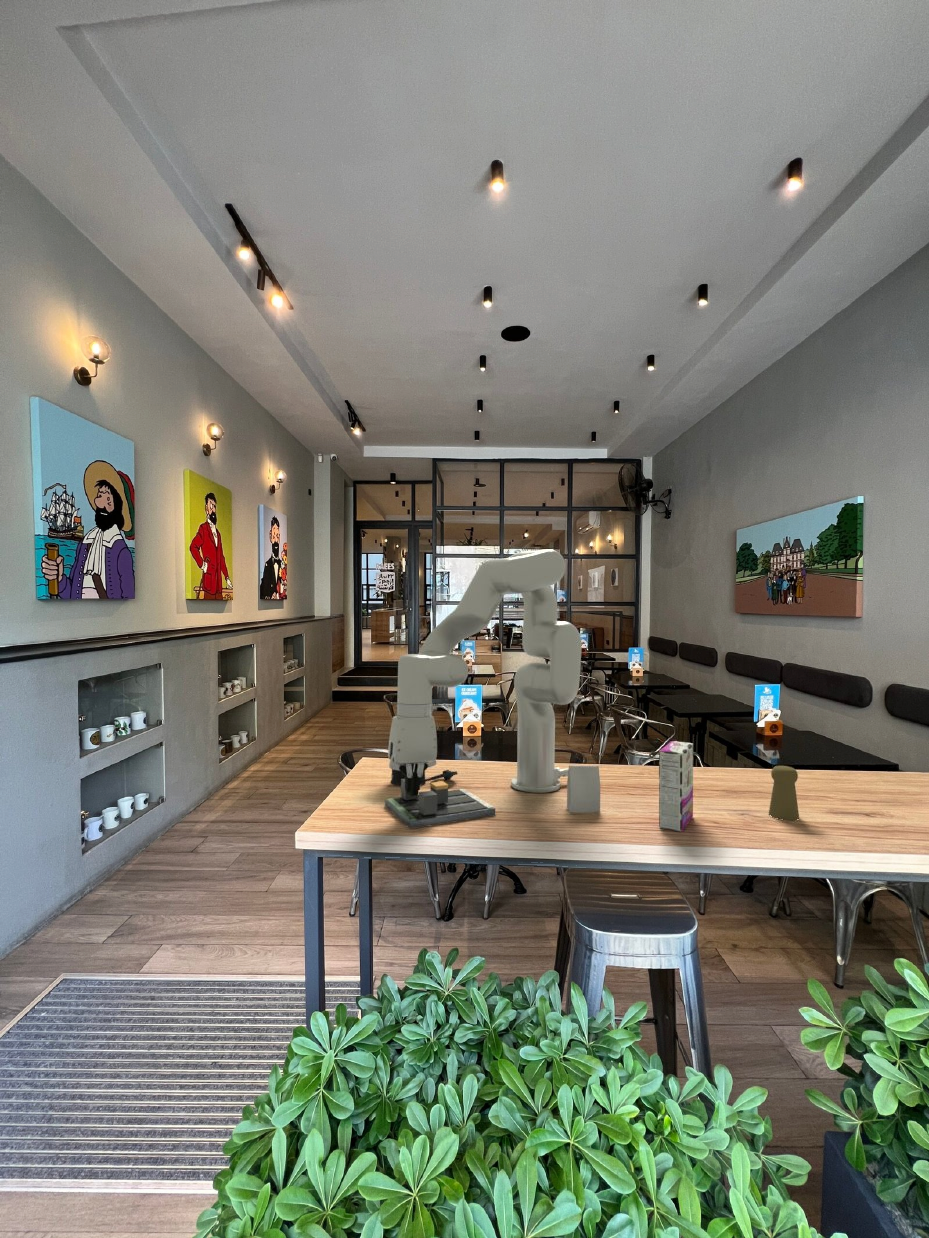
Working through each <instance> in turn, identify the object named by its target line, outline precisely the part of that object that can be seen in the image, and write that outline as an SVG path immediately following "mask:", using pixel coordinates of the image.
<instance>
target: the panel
mask: <svg viewBox="0 0 929 1238" xmlns="http://www.w3.org/2000/svg"><path fill="white" fill-rule="evenodd" d="M384 803H385V804H384V806H385V807H386V808H387V809H388V810H389V811H390V810H391V811H392V812H393V813H394V814H395V815H394V814H393V815H394V816H395V817H396V818H397V819H399V820H400V821H401V822H402V823H403V824H404V825H405V826H406V825H407V826H408V827H409V828H408V827H407V826H406V827H407V828H408V829H410V828H412V829H417V827H418V828H423V827H422V826H424V827H430V826H429V825H431V826H437V825H442V824H443V825H444V824H448V823H447V822H450V823H454V822H455V821H456V822H460V821H467V820H466V819H468V820H475V819H479V818H486V817H491V816H493V817H494V816H496V808H495V807H494V806H493V805H492V804H490V803H488V802H486V801H484V799H482V798H480V797H478V796H477V795H475V794H473V793H471V792H470V791H468V790H467V789H465V788H458V789H453V790H448V803H442V804H437V813H436V814H429V815H423V814H422V813H421V812H419V794H418V799H411V800H405V799H404V798H402V797H401V796H399V797H391V798H386V799H385V800H384ZM391 811H390V812H391ZM392 812H391V813H392ZM456 822H455V823H456Z"/></svg>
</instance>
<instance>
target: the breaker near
mask: <svg viewBox="0 0 929 1238" xmlns="http://www.w3.org/2000/svg"><path fill="white" fill-rule="evenodd" d="M418 795H419V812H421V813H422V814H423V815H429V814H436V813H437V794H436V793H435V792H433V791H430V790H426V791H418Z"/></svg>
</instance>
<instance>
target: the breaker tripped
mask: <svg viewBox="0 0 929 1238" xmlns="http://www.w3.org/2000/svg"><path fill="white" fill-rule="evenodd" d="M429 791H433V792H435V793H436V794H437V804H442V803H448V791H449V784H448V783H446V782H444V781H441V780H440V781H436V782H435V781H434V782H430V790H429Z"/></svg>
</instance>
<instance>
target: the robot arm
mask: <svg viewBox="0 0 929 1238" xmlns="http://www.w3.org/2000/svg"><path fill="white" fill-rule="evenodd" d="M565 572H566V560H565V559H564V557H563V555H562V554H561V553H560V552H558V551H556V550H554V549H540V550H530V551H529V550H527V551H520V552H517V553H514V554H512V555H510V556H509V557H505V558H495V559H493V558H492V559H488V560H486V561H484V562H483V563H481V564H480V566H479V567H478V569H477V570H476V572H475V574H474V575H473V577H472V579H471V581H470V583H469V585H468V586H467V588H466V590H465V592H464V594H463V595H462V597H461V599H460V601H459V602H458V604H457V606H456V608H455V609H454V610H453V611H452V612H451V613H449V615H447V616H446V617H445V618H444V619H443V620H442V621H441V622H439V623H438V625H436V627H434V628H433V630H432V631H431V632H430V633H429V634H428V636H427V637H426V639H425V640H424V642H423V643H422V645H421V648H420V649H419V652H418V653H417V654H416V653H411V654H410V653H408V654H403V655H401V656H400V657H399V659H398V664H397V665H398V666H397V700H396V701H397V706H396V707H397V708H396V715H395V716H392V717H393V718H392V720H391V726H390V732H389V739H388V749H387V750H388V751H387V752H388V753H387V754H388V755H387V757H388V759H389V763H388V768H389V769H391V770H392V769H393V770H399V771H401V772H402V773H403V774H404V775H405V791H406V792H407V794H409V795H410V796H414V795H415V796H418V795H419V791H420V790H421V785H420V777H421V776H422V775H423V773H424V771H425V772H426V770H427V769H429V768H432V767H435V766H436V765H437V755H438V739H437V738H438V737H437V727H436V722H435V716H433V712H434V711H437V710H438V705H437V704H433V702H432V701H433V700H432V699H433V697H432V696H433V687H440V688H442V687H444V688H455V687H459V686H460V685H462V684H463V683H464V682H466V680H467V679H468V675H469V666H468V663H467V662H466V661H465V659H464V658H462V657H461V656H460V655H457V654H454V653H451V652H452V651H453V650H454V648H455V647H456V646H457V645H459V643H461V642H462V641H463V640H465V639H467V638H469V637H471V636H473V635H475V634H478V633H479V632H481V631H484V629H486V628H487V627H488V626H489V624H490V623H491V620H492V619H493V616H494V615H495V613H496V611H497V609H498V608H499V606H500V603H501V601H502V600H503V597H504V596H505V595H519V594H520V595H521V597H522V599H523V600H522V601H523V620H522V623H523V624H522V637H521V638H522V641H521V642H522V649H523V651H524V653H526V655H527V656H530V657H534V658H539V659H547V660H548V659H549V663H541V662H528V663H525V664H523V665H521V666H520V667H519V668H518V669H517V670H516V671H515V675H514V678H513V685H514V686H513V687H514V691H515V692H514V693H515V697H516V698H515V699H516V705H517V707H516V708H517V740H516V741H517V743H516V744H517V749H516V751H517V752H516V753H517V756H516V757H517V761H516V762H517V763H516V768H517V769H516V776H515V777H513V778H512V779H511V780H510V786H511V787H512V788H513V789H515V790H517V791H520V792H525V793H534V794H537V793H538V794H539V793H540V794H541V793H542V794H543V793H545V794H546V793H553V792H556V791H558V790H559V789H560V788H561V782H560V780H559V779H560V778H561V777H563V778H564V777H568V770H569V768H562V769H561V768H560V767H556V766H555V755H556V754H555V751H556V750H555V749H556V748H555V746H556V745H555V744H556V743H555V742H556V741H555V740H556V737H555V736H556V734H555V733H556V729H555V728H556V716H555V711H554V708H553V705H554V704H555V705H561V706H563V705H569V704H570V703H571V702H573V701H574V700H575V698H576V696H577V695H578V692H579V687H580V680H581V677H580V676H581V663H582V659H581V658H582V638H581V635H580V632H579V629H578V628H577V627H576V626H575V625H574V624H572V623H571V622H569V621H563V620H562V621H561V620H558V599H557V596H556V593H555V591H554V589H553V587H552V585H555V584H557V583H559V582H560V581H561V580H562V578H563V577H564V575H565V574H566V573H565ZM552 704H553V705H552ZM411 764H414V769H413V774H412V766H411Z"/></svg>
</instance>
